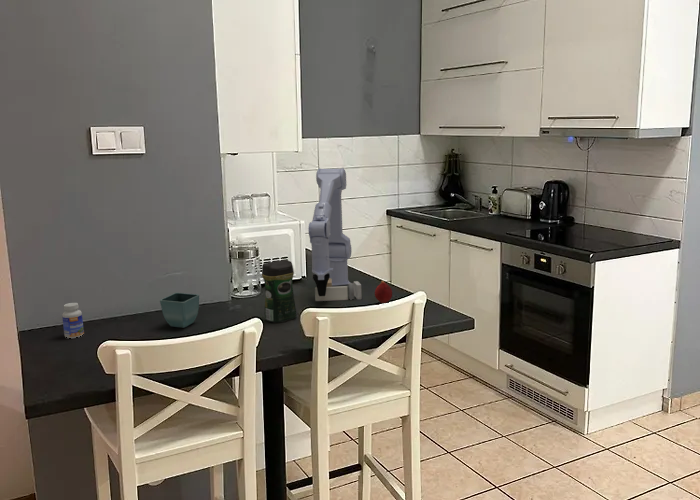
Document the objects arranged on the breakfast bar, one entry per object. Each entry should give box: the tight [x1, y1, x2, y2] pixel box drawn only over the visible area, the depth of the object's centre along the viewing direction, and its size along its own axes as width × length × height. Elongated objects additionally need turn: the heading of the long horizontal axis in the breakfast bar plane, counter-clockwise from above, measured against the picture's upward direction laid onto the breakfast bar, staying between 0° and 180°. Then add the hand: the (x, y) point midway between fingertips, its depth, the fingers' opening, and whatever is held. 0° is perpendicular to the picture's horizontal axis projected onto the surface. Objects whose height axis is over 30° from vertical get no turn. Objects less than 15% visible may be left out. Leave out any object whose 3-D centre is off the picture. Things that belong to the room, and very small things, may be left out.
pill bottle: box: [61, 302, 85, 339], centre depth 194 cm, size 5×5×10 cm
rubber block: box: [327, 279, 333, 287], centre depth 230 cm, size 6×4×6 cm, turn 3°
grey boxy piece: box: [347, 280, 362, 301], centre depth 226 cm, size 5×4×6 cm
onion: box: [374, 280, 393, 304], centre depth 217 cm, size 6×6×8 cm
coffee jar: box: [261, 259, 297, 323], centre depth 204 cm, size 10×8×19 cm
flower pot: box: [159, 292, 200, 329], centre depth 201 cm, size 9×9×9 cm
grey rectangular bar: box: [314, 285, 349, 302], centre depth 225 cm, size 11×2×4 cm, turn 92°
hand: (322, 295), depth 222 cm, fingers closed
